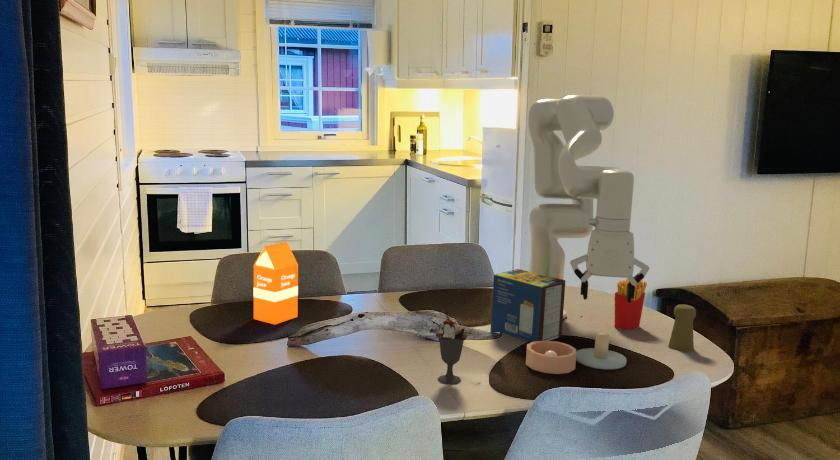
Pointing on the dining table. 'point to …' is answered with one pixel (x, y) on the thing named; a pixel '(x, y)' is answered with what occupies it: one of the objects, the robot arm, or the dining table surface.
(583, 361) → the lid
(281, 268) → the orange juice
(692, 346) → the cork
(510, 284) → the protein box
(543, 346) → the bowl
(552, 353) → the egg
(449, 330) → the sundae
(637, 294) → the french fries
